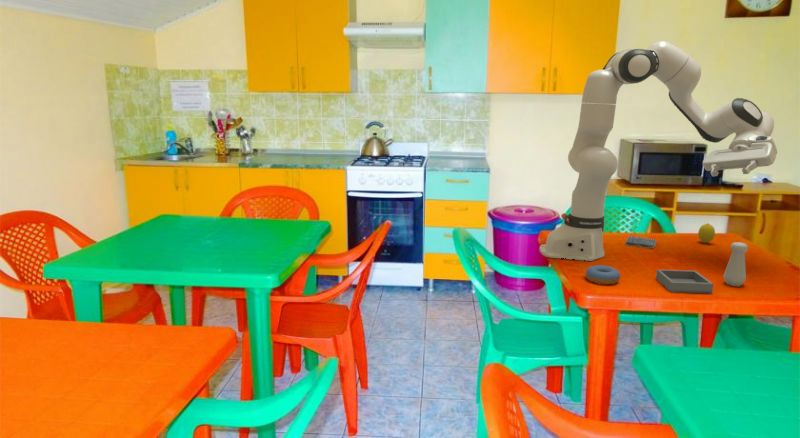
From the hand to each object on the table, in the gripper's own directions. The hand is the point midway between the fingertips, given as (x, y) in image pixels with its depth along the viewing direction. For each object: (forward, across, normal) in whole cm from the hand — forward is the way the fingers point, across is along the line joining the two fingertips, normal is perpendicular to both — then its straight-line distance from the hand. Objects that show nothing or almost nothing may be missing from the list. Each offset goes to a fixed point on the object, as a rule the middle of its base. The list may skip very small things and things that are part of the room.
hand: (728, 173), depth 170 cm
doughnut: (+49, -20, +3) cm, 53 cm away
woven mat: (+7, -38, +25) cm, 46 cm away
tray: (+37, -4, +14) cm, 40 cm away
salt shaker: (+26, +3, +23) cm, 35 cm away
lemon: (-10, -24, +39) cm, 47 cm away
